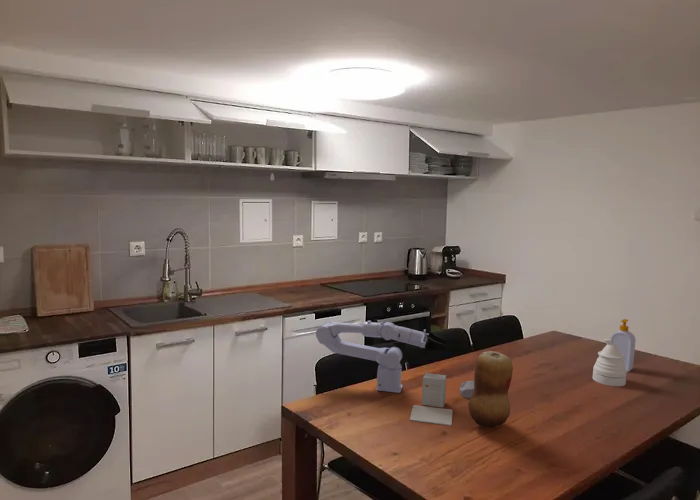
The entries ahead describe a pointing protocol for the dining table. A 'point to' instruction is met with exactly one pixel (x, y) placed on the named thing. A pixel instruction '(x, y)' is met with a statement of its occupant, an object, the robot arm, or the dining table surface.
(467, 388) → the stone block
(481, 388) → the butternut squash
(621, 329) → the soap bottle
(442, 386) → the small box
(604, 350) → the honey pot
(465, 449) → the dining table surface
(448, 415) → the mat
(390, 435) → the dining table surface
